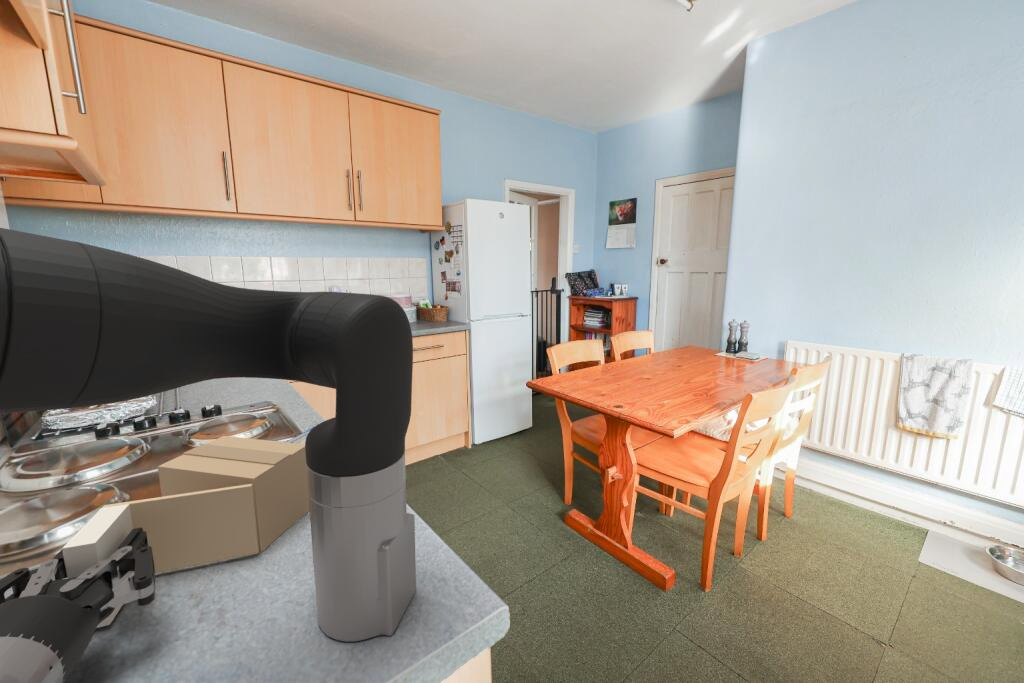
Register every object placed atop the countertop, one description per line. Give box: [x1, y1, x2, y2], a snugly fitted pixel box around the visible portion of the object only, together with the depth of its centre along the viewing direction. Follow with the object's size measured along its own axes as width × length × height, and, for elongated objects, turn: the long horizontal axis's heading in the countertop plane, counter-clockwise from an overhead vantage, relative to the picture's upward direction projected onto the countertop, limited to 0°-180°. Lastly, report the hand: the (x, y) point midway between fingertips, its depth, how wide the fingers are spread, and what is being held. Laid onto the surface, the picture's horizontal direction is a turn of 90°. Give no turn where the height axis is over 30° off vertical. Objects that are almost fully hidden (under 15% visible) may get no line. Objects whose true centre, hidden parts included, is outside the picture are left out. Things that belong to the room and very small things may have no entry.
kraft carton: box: [157, 435, 310, 553], centre depth 59 cm, size 14×10×10 cm
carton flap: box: [61, 484, 259, 629], centre depth 46 cm, size 14×8×9 cm, turn 111°
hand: (111, 540), depth 45 cm, fingers open, 4 cm apart
